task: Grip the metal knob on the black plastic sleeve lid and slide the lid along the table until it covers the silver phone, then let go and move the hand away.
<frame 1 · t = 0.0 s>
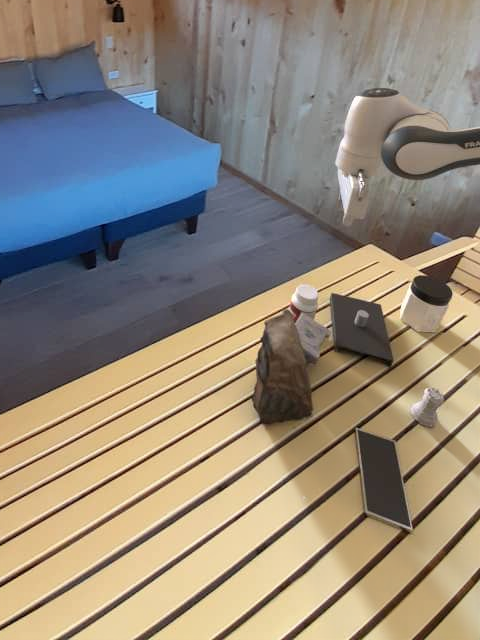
hand: (344, 213, 94), 32 cm above the table, tool pointing down, fingers open, 8 cm apart
pill bottle: (298, 323, 105), on the table
phone: (380, 476, 74), on the table
incense holder: (298, 362, 96), on the table
rook chess piece: (422, 417, 84), on the table
lid: (357, 330, 103), on the table
brown rock: (278, 402, 87), on the table
jar: (417, 320, 106), on the table
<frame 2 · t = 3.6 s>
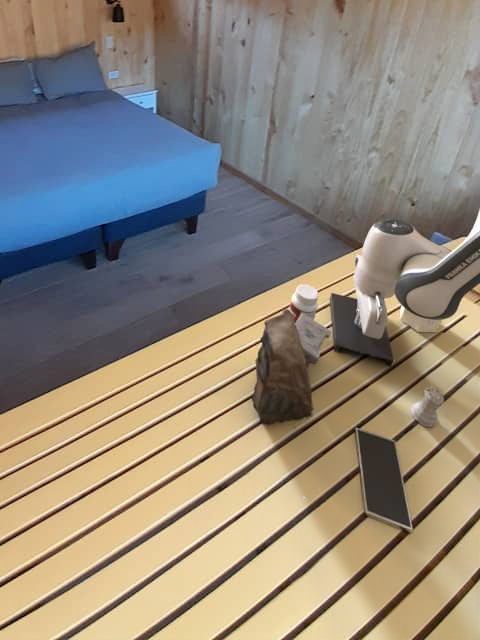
hand: (360, 320, 102), 3 cm above the table, tool pointing down, fingers closed on lid, 2 cm apart
lid: (357, 330, 103), on the table, touching gripper
everything else where it was.
when the fingers open (3 cm above the table, at t = 12.3 s): lid stays where it is, on the table.
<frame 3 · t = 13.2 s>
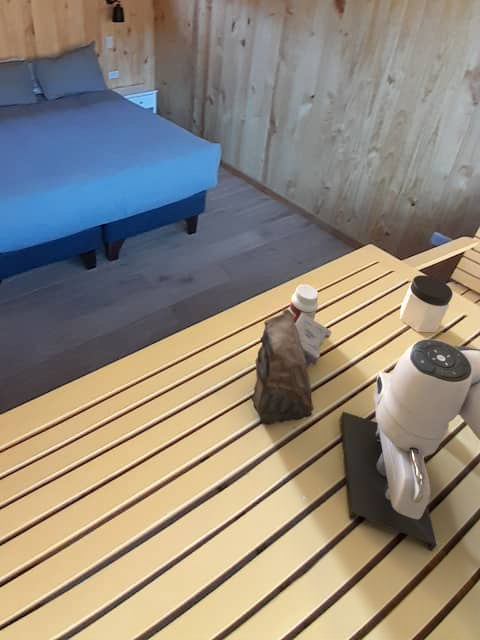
hand: (385, 466, 73), 3 cm above the table, tool pointing down, fingers open, 8 cm apart
lid: (380, 476, 74), on the table
everything else where it was.
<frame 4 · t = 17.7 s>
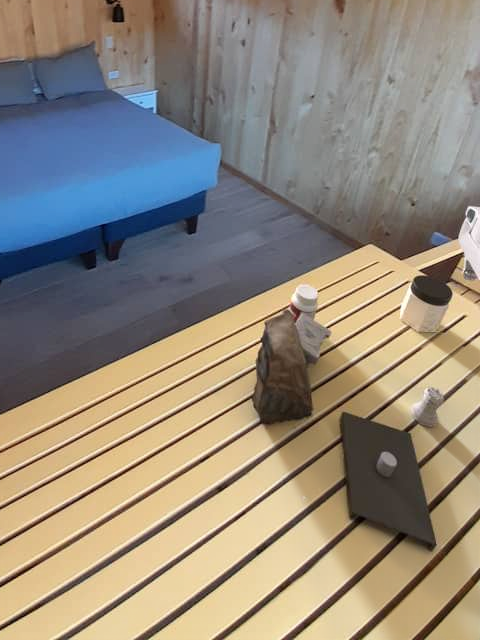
hand: (476, 294, 75), 29 cm above the table, tool pointing down, fingers open, 8 cm apart
nothing on the table moved.
at the end: lid 0.0 cm from the phone (horizontally); lid on the table; the gripper is holding nothing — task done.
